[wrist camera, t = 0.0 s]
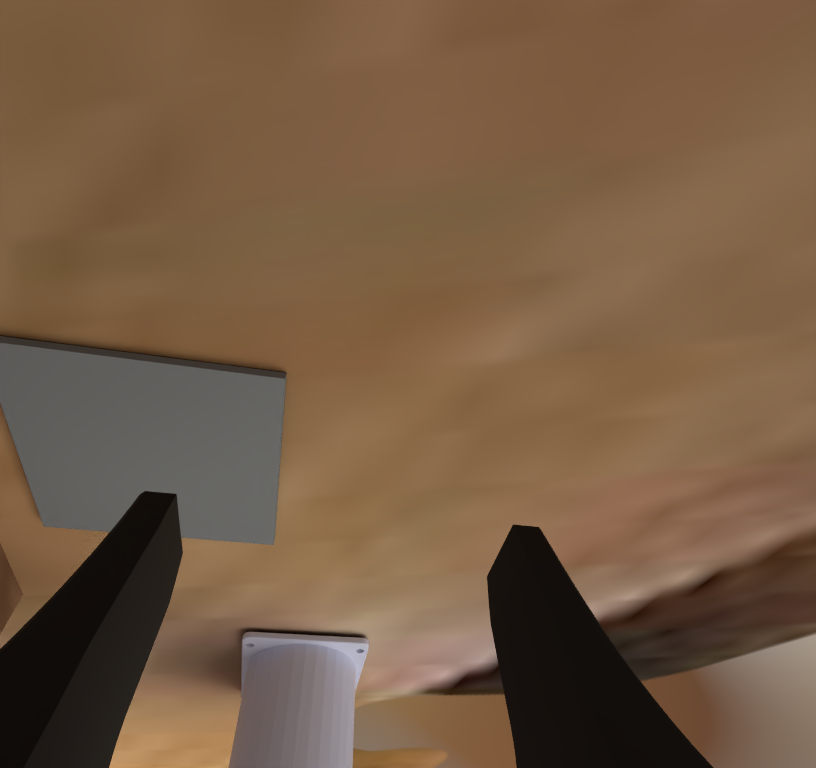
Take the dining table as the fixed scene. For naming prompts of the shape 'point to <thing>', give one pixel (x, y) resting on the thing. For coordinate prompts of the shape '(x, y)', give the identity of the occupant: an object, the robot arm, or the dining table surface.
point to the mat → (144, 437)
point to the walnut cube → (7, 590)
